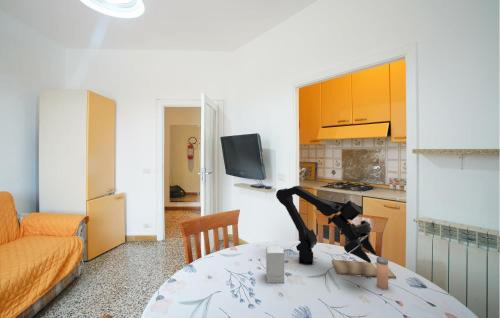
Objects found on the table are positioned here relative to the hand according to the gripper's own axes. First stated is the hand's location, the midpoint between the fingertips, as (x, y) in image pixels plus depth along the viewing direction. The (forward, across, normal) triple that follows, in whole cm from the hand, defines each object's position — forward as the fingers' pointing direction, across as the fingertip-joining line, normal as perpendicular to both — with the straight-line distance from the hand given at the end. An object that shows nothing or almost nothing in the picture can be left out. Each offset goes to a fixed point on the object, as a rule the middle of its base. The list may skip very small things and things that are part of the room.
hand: (373, 258), depth 90 cm
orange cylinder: (+10, 0, +5) cm, 11 cm away
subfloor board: (+3, +9, +12) cm, 16 cm away
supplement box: (-16, -22, +31) cm, 42 cm away
